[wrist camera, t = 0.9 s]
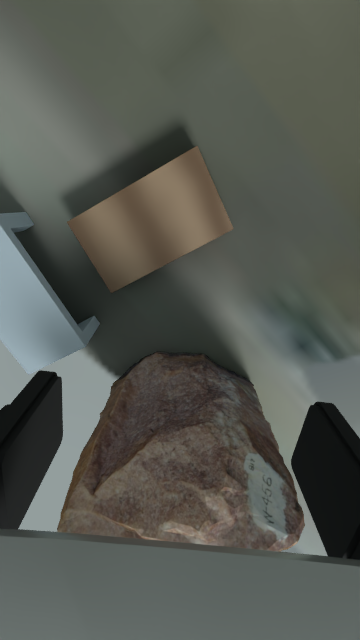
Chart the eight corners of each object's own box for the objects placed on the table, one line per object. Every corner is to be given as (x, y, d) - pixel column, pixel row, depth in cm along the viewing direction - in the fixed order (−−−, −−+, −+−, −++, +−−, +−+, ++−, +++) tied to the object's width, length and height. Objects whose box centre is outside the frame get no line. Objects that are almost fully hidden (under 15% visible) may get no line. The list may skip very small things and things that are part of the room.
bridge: (25, 211, 31) (-8, 213, 25) (100, 323, 35) (85, 346, 30) (-28, 243, 32) (-71, 252, 26) (51, 348, 37) (28, 374, 31)
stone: (256, 349, 37) (338, 501, 18) (247, 419, 41) (307, 604, 22) (105, 347, 37) (29, 498, 18) (110, 418, 40) (53, 603, 22)
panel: (195, 151, 29) (197, 145, 27) (228, 226, 32) (233, 229, 29) (76, 220, 32) (66, 222, 29) (116, 285, 34) (111, 293, 31)
